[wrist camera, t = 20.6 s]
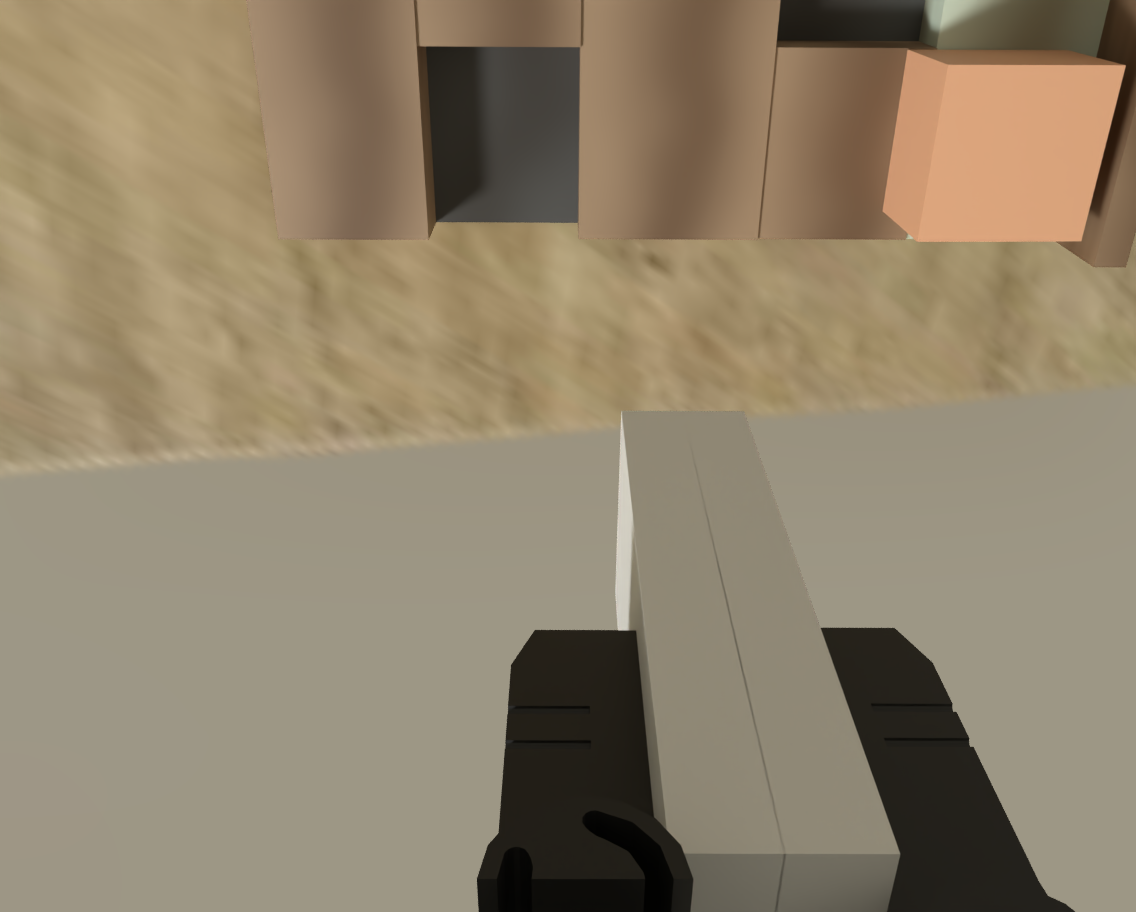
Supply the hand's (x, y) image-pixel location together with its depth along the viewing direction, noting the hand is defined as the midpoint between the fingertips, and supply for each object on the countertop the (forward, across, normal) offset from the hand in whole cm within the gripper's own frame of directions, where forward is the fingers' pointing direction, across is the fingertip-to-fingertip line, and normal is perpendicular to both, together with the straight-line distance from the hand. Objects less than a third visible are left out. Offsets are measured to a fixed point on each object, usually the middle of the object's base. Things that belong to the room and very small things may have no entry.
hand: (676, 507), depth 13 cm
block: (+22, +12, 0) cm, 25 cm away
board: (+24, +2, +3) cm, 25 cm away
